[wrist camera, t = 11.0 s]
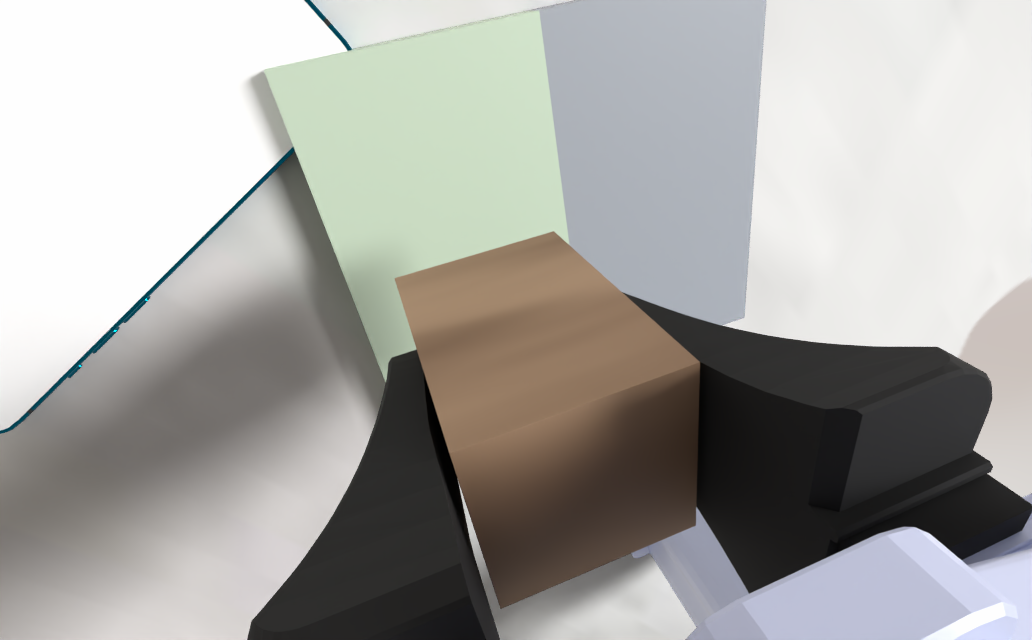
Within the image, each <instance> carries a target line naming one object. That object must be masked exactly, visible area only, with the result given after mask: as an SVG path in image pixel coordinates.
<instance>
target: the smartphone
mask: <svg viewBox="0 0 1032 640" xmlns="http://www.w3.org/2000/svg"><path fill="white" fill-rule="evenodd" d="M349 50H352V49H351V47H350V46H349V44H348V43H347V41H346V40H345V39H344V38H343V37H342V36H341V34H340V33H339V32H338V31H337V30H336V29H335V28H334V26H333V25H332V24H331V23H330V22H329V21H328V20H327V19H326V17H325V16H324V15H323V14H322V13H321V12H320V11H319V9H318V8H317V7H316V6H315V5H314V4H313V3H312V2H311V0H0V434H1V433H5V432H8V431H10V430H13V429H14V428H15V427H16V426H18V425H19V424H20V423H21V422H23V421H24V420H25V419H26V418H27V417H28V416H29V415H30V414H31V413H32V412H33V411H34V410H35V409H36V408H37V407H38V406H39V405H40V404H41V403H42V402H43V401H44V400H45V399H46V398H47V397H48V396H49V395H50V394H51V393H52V392H53V391H54V390H55V389H56V388H57V387H58V386H59V385H60V384H61V383H62V382H63V381H64V380H65V379H66V378H67V377H68V378H71V377H72V376H73V375H74V374H75V373H76V372H77V371H78V370H79V369H80V368H81V367H82V364H81V363H82V362H83V361H84V360H85V359H86V358H87V357H88V356H89V355H90V354H91V353H94V354H95V353H96V352H97V351H98V350H99V349H100V348H101V347H102V346H103V345H104V344H105V343H106V342H107V341H108V340H109V339H110V338H111V337H112V336H113V335H114V334H115V333H116V332H117V331H118V329H119V328H120V327H118V326H119V325H120V324H121V323H122V322H124V323H126V322H127V321H128V320H129V319H130V318H131V317H132V316H133V315H134V314H135V313H136V312H137V311H138V310H139V309H140V308H141V307H142V306H143V305H144V304H145V303H146V302H147V301H148V300H149V299H150V295H151V294H152V293H153V292H154V291H155V290H156V289H157V288H158V287H159V286H160V285H161V284H162V283H163V282H164V281H165V280H166V279H167V278H168V277H169V276H170V275H171V274H172V273H173V272H174V271H175V270H176V269H177V268H178V267H179V266H180V265H181V264H182V263H183V262H184V261H185V260H186V259H187V258H188V257H189V256H190V255H191V254H192V253H193V252H194V251H195V250H196V249H197V248H198V247H199V246H200V245H201V244H202V243H203V242H204V241H205V240H206V239H207V238H208V237H209V236H210V235H211V234H212V233H213V232H214V231H215V230H216V229H217V228H218V227H219V226H220V225H221V224H222V223H223V222H224V221H225V220H226V219H227V218H228V217H229V216H230V215H231V214H232V213H233V212H234V211H235V210H236V209H237V208H238V207H239V206H240V205H241V204H242V203H243V202H244V201H245V200H246V199H247V198H248V197H249V196H250V195H251V194H252V193H253V192H254V191H255V190H256V189H257V188H258V187H259V186H260V185H261V184H262V183H263V182H264V181H265V180H266V179H267V178H268V177H269V176H270V175H271V174H272V173H273V172H274V171H275V170H276V169H277V168H278V167H279V166H280V165H281V164H282V163H283V162H284V161H285V160H286V159H287V158H289V157H290V156H291V155H292V154H293V153H294V152H295V149H294V147H293V144H292V142H291V139H290V136H289V134H288V131H287V129H286V126H285V124H284V121H283V118H282V116H281V113H280V111H279V108H278V106H277V103H276V101H275V98H274V95H273V93H272V90H271V88H270V85H269V83H268V80H267V77H266V75H265V72H264V70H265V69H267V68H272V67H276V66H281V65H285V64H290V63H295V62H299V61H304V60H308V59H313V58H317V57H322V56H326V55H331V54H336V53H340V52H345V51H349Z"/></svg>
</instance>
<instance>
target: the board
mask: <svg viewBox="0 0 1032 640" xmlns="http://www.w3.org/2000/svg"><path fill="white" fill-rule="evenodd" d="M765 12H766V0H574V1H570V2H565V3H561V4H556V5H552V6H547V7H542V8H538V9H533V10H529V11H524V12H519V13H515V14H510V15H506V16H501V17H497V18H492V19H487V20H483V21H478V22H474V23H469V24H465V25H460V26H455V27H451V28H446V29H442V30H437V31H432V32H428V33H423V34H419V35H414V36H410V37H405V38H400V39H396V40H391V41H387V42H382V43H377V44H373V45H368V46H364V47H359V48H355V49H352V50H349V51H345V52H340V53H336V54H331V55H326V56H322V57H317V58H313V59H308V60H304V61H299V62H295V63H290V64H285V65H281V66H276V67H272V68H267V69H265V70H264V72H265V75H266V77H267V80H268V83H269V85H270V88H271V90H272V93H273V95H274V98H275V101H276V103H277V106H278V108H279V111H280V113H281V116H282V118H283V121H284V124H285V126H286V129H287V131H288V134H289V136H290V139H291V142H292V144H293V147H294V149H295V152H296V154H297V157H298V159H299V162H300V165H301V167H302V170H303V172H304V175H305V177H306V180H307V183H308V185H309V188H310V190H311V193H312V195H313V198H314V200H315V203H316V206H317V208H318V211H319V213H320V216H321V218H322V221H323V224H324V226H325V229H326V231H327V234H328V236H329V239H330V241H331V244H332V247H333V249H334V252H335V254H336V257H337V259H338V262H339V265H340V267H341V270H342V272H343V275H344V277H345V280H346V282H347V285H348V288H349V290H350V293H351V295H352V298H353V300H354V303H355V306H356V308H357V311H358V313H359V316H360V318H361V321H362V324H363V326H364V329H365V331H366V334H367V336H368V339H369V341H370V344H371V347H372V349H373V352H374V354H375V357H376V359H377V362H378V365H379V367H380V370H381V372H382V375H383V377H384V380H385V382H386V379H387V372H388V363H389V361H390V359H391V358H392V357H395V356H398V355H401V354H404V353H407V352H410V351H413V350H416V346H415V342H414V339H413V336H412V333H411V330H410V326H409V323H408V320H407V317H406V314H405V311H404V307H403V304H402V301H401V298H400V295H399V291H398V288H397V285H396V282H395V279H394V278H397V277H400V276H404V275H407V274H411V273H414V272H417V271H421V270H424V269H427V268H431V267H434V266H438V265H441V264H444V263H448V262H451V261H455V260H458V259H461V258H465V257H468V256H472V255H475V254H478V253H482V252H485V251H488V250H492V249H495V248H499V247H502V246H505V245H509V244H512V243H516V242H519V241H522V240H526V239H529V238H533V237H536V236H539V235H543V234H546V233H549V232H553V231H554V232H555V233H556V234H557V235H559V236H560V237H561V238H562V239H563V240H564V241H565V242H566V243H568V244H569V245H570V246H571V247H572V248H573V249H574V250H575V251H576V252H578V253H579V254H580V255H581V256H582V257H583V258H584V259H585V260H586V261H588V262H589V263H590V264H591V265H592V266H593V267H594V268H595V269H597V270H598V271H599V272H600V273H601V274H602V275H603V276H604V277H605V278H607V279H608V280H609V281H610V282H611V283H612V284H613V285H614V286H616V287H617V288H618V289H619V290H620V291H621V292H623V293H626V294H629V295H631V296H634V297H637V298H639V299H642V300H645V301H648V302H650V303H653V304H656V305H658V306H661V307H664V308H667V309H670V310H673V311H676V312H678V313H681V314H685V315H688V316H691V317H694V318H697V319H701V320H704V321H708V322H711V323H714V324H718V325H724V324H727V323H730V322H733V321H736V320H738V319H741V318H744V316H745V301H746V287H747V272H748V258H749V243H750V229H751V215H752V200H753V186H754V171H755V157H756V142H757V128H758V113H759V99H760V84H761V70H762V55H763V41H764V27H765Z"/></svg>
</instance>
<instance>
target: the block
mask: <svg viewBox="0 0 1032 640" xmlns="http://www.w3.org/2000/svg"><path fill="white" fill-rule="evenodd" d="M394 279H395V282H396V285H397V288H398V291H399V295H400V298H401V301H402V304H403V307H404V311H405V314H406V317H407V320H408V323H409V326H410V330H411V333H412V336H413V339H414V342H415V346H416V349H417V352H418V355H419V358H420V361H421V365H422V368H423V371H424V374H425V377H426V381H427V384H428V387H429V390H430V393H431V396H432V400H433V403H434V406H435V409H436V412H437V416H438V419H439V422H440V425H441V428H442V431H443V435H444V438H445V441H446V444H447V447H448V450H449V454H450V457H451V460H452V463H453V466H454V469H455V472H456V475H457V478H458V481H459V484H460V487H461V490H462V493H463V496H464V499H465V502H466V505H467V508H468V511H469V514H470V517H471V520H472V523H473V527H474V530H475V533H476V536H477V539H478V542H479V545H480V548H481V551H482V554H483V557H484V560H485V563H486V566H487V569H488V572H489V575H490V578H491V581H492V584H493V587H494V590H495V593H496V596H497V599H498V602H499V605H500V608H501V609H502V608H504V607H506V606H509V605H511V604H513V603H516V602H518V601H520V600H523V599H525V598H527V597H530V596H532V595H534V594H537V593H539V592H541V591H544V590H546V589H548V588H551V587H553V586H555V585H558V584H560V583H563V582H565V581H567V580H570V579H572V578H574V577H577V576H579V575H581V574H584V573H586V572H588V571H591V570H593V569H595V568H598V567H600V566H602V565H605V564H607V563H609V562H612V561H614V560H616V559H619V558H621V557H623V556H626V555H628V554H630V553H633V552H635V551H637V550H640V549H642V548H644V547H647V546H649V545H651V544H654V543H656V542H658V541H661V540H663V539H665V538H668V537H670V536H673V535H675V534H677V533H680V532H682V531H684V530H687V529H689V528H691V527H694V526H696V499H697V461H698V422H699V384H700V362H699V361H698V360H697V359H696V358H695V357H694V356H693V355H691V354H690V353H689V352H688V351H687V350H686V349H685V348H684V347H683V346H681V345H680V344H679V343H678V342H677V341H676V340H675V339H674V338H672V337H671V336H670V335H669V334H668V333H667V332H666V331H665V330H664V329H662V328H661V327H660V326H659V325H658V324H657V323H656V322H655V321H653V320H652V319H651V318H650V317H649V316H648V315H647V314H646V313H645V312H643V311H642V310H641V309H640V308H639V307H638V306H637V305H636V304H635V303H633V302H632V301H631V300H630V299H629V298H628V297H627V296H626V295H624V294H623V293H622V292H621V291H620V290H619V289H618V288H617V287H616V286H614V285H613V284H612V283H611V282H610V281H609V280H608V279H607V278H605V277H604V276H603V275H602V274H601V273H600V272H599V271H598V270H597V269H595V268H594V267H593V266H592V265H591V264H590V263H589V262H588V261H586V260H585V259H584V258H583V257H582V256H581V255H580V254H579V253H578V252H576V251H575V250H574V249H573V248H572V247H571V246H570V245H569V244H568V243H566V242H565V241H564V240H563V239H562V238H561V237H560V236H559V235H557V234H556V233H555V232H554V231H553V232H549V233H546V234H543V235H539V236H536V237H533V238H529V239H526V240H522V241H519V242H516V243H512V244H509V245H505V246H502V247H499V248H495V249H492V250H488V251H485V252H482V253H478V254H475V255H472V256H468V257H465V258H461V259H458V260H455V261H451V262H448V263H444V264H441V265H438V266H434V267H431V268H427V269H424V270H421V271H417V272H414V273H411V274H407V275H404V276H400V277H397V278H394Z"/></svg>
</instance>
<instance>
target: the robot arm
mask: <svg viewBox="0 0 1032 640" xmlns="http://www.w3.org/2000/svg"><path fill="white" fill-rule="evenodd" d="M622 293H623V292H622ZM623 294H624V295H626V296H627V297H628V298H629V299H630V300H631V301H632V302H633V303H635V304H636V305H637V306H638V307H639V308H640V309H641V310H642V311H643V312H645V313H646V314H647V315H648V316H649V317H650V318H651V319H652V320H653V321H655V322H656V323H657V324H658V325H659V326H660V327H661V328H662V329H664V330H665V331H666V332H667V333H668V334H669V335H670V336H671V337H672V338H674V339H675V340H676V341H677V342H678V343H679V344H680V345H681V346H683V347H684V348H685V349H686V350H687V351H688V352H689V353H690V354H691V355H693V356H694V357H695V358H696V359H697V360H698V361H699V362H700V384H699V422H698V461H697V499H696V526H694V527H691V528H689V529H687V530H684V531H682V532H680V533H677V534H675V535H673V536H670V537H668V538H665V539H663V540H661V541H658V542H656V543H654V544H651V545H649V546H647V547H644V548H642V549H640V550H637V551H635V552H633V553H631V554H632V556H633V557H634V558H640V557H643V556H645V555H647V554H651V555H652V557H653V559H654V560H655V562H656V563H657V565H658V567H659V568H660V570H661V571H662V573H663V574H664V576H665V578H666V579H667V581H668V582H669V584H670V586H671V587H672V589H673V590H674V592H675V594H676V595H677V597H678V598H679V600H680V602H681V603H682V605H683V606H684V608H685V610H686V611H687V613H688V614H689V616H690V618H691V619H692V621H693V622H694V624H695V626H696V627H697V628H696V629H695V630H694V631H693V632H692V633H691V634H690V635H689V636H688V638H687V639H686V640H1032V493H1031V494H1029V495H1027V496H1025V497H1020V496H1019V495H1017V494H1016V493H1014V492H1013V491H1011V490H1010V489H1008V488H1007V487H1006V486H1004V485H1003V484H1001V483H1000V482H998V481H997V480H995V479H994V478H992V477H991V476H989V475H988V474H987V473H989V472H991V470H992V468H993V466H992V464H991V463H990V461H988V460H987V459H985V458H984V457H982V456H981V455H979V454H978V453H976V452H975V451H973V448H974V446H975V443H976V441H977V438H978V436H979V433H980V431H981V429H982V426H983V424H984V421H985V419H986V416H987V414H988V411H989V408H990V404H991V401H992V386H991V381H990V380H989V378H988V376H987V374H986V373H984V372H983V371H981V370H979V369H977V368H975V367H973V366H972V365H970V364H968V363H966V362H964V361H962V360H961V359H959V358H957V357H955V356H953V355H952V354H950V353H948V352H946V351H944V350H942V349H940V348H938V347H873V346H855V345H839V344H827V343H817V342H808V341H801V340H793V339H786V338H779V337H773V336H767V335H762V334H757V333H752V332H748V331H743V330H738V329H734V328H730V327H726V326H722V325H718V324H714V323H711V322H708V321H704V320H701V319H697V318H694V317H691V316H688V315H685V314H681V313H678V312H676V311H673V310H670V309H667V308H664V307H661V306H658V305H656V304H653V303H650V302H648V301H645V300H642V299H639V298H637V297H634V296H631V295H629V294H626V293H623ZM247 640H500V639H499V635H498V632H497V629H496V626H495V622H494V619H493V616H492V613H491V609H490V606H489V603H488V600H487V596H486V593H485V590H484V587H483V583H482V580H481V577H480V574H479V570H478V567H477V564H476V560H475V557H474V554H473V550H472V546H471V542H470V538H469V533H468V528H467V523H466V518H465V513H464V508H463V504H462V499H461V494H460V489H459V484H458V479H457V475H456V472H455V469H454V466H453V463H452V460H451V457H450V454H449V450H448V447H447V444H446V441H445V438H444V435H443V431H442V428H441V425H440V422H439V419H438V416H437V412H436V409H435V406H434V403H433V400H432V396H431V393H430V390H429V387H428V384H427V381H426V377H425V374H424V371H423V368H422V365H421V361H420V358H419V355H418V352H417V349H416V350H413V351H410V352H407V353H404V354H401V355H398V356H395V357H392V358H391V359H390V361H389V363H388V372H387V379H386V384H385V389H384V394H383V398H382V401H381V405H380V409H379V412H378V416H377V419H376V422H375V425H374V428H373V431H372V434H371V436H370V439H369V442H368V445H367V447H366V450H365V453H364V455H363V457H362V460H361V462H360V464H359V466H358V469H357V471H356V473H355V475H354V477H353V479H352V481H351V483H350V485H349V487H348V489H347V491H346V493H345V494H344V496H343V498H342V500H341V501H340V503H339V505H338V507H337V509H336V510H335V512H334V514H333V516H332V517H331V519H330V520H329V522H328V524H327V525H326V527H325V528H324V530H323V531H322V533H321V534H320V536H319V537H318V539H317V540H316V541H315V543H314V544H313V546H312V547H311V549H310V550H309V552H308V553H307V554H306V556H305V557H304V559H303V560H302V561H301V563H300V564H299V565H298V567H297V568H296V569H295V570H294V572H293V573H292V574H291V576H290V577H289V578H288V579H287V580H286V581H285V583H284V584H283V585H282V586H281V587H280V589H279V590H278V591H277V592H276V593H275V595H274V596H273V597H272V598H271V599H270V600H269V602H268V603H267V604H266V605H265V606H264V608H263V609H262V610H261V611H260V612H259V613H258V614H257V616H256V617H255V618H254V619H253V620H252V622H251V626H250V630H249V634H248V639H247Z"/></svg>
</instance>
